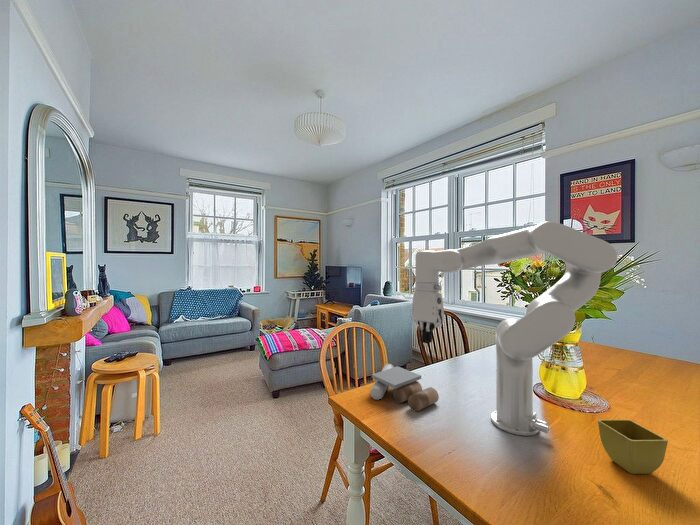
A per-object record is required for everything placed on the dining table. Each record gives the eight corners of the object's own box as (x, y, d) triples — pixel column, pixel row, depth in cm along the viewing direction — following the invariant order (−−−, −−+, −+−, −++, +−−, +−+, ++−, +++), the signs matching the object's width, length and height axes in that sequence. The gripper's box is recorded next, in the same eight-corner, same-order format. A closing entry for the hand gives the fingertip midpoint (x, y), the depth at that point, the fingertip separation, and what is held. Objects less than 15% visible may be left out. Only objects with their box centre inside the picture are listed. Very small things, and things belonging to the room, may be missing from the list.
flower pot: (630, 454, 73) (630, 418, 73) (669, 480, 64) (669, 440, 64) (596, 454, 73) (596, 419, 73) (631, 481, 64) (631, 440, 64)
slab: (421, 378, 107) (421, 375, 107) (395, 388, 98) (395, 385, 98) (397, 369, 116) (397, 366, 116) (371, 377, 108) (371, 374, 108)
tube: (385, 392, 100) (396, 366, 123) (371, 385, 101) (385, 361, 125) (380, 405, 100) (392, 377, 124) (366, 398, 102) (381, 372, 125)
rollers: (438, 404, 98) (438, 390, 98) (419, 414, 92) (419, 398, 92) (411, 392, 108) (411, 378, 108) (392, 399, 102) (392, 385, 102)
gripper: (453, 288, 92) (453, 345, 92) (416, 285, 104) (416, 336, 104) (439, 290, 88) (439, 349, 88) (402, 286, 100) (402, 339, 100)
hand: (427, 342), depth 96 cm, fingers closed
